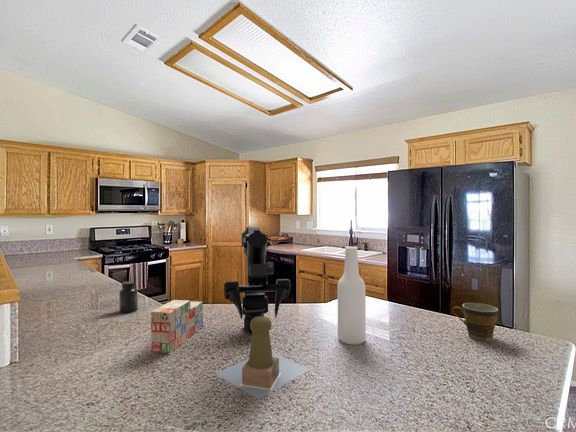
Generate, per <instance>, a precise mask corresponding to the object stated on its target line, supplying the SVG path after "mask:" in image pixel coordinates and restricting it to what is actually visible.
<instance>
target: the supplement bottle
mask: <svg viewBox="0 0 576 432" xmlns="http://www.w3.org/2000/svg"><path fill="white" fill-rule="evenodd" d="M135 283H136V282H135V281H125V282H124V281H123V282H122V283H121V289H120V291H119V293H118V296H119V300H118V301H119V305H118V306H119V313H121V314H130V313H134V312H136V311H138V305H139V303H138V301H139V299H138V293H139V292H138V289H137V288H136V284H135Z"/></svg>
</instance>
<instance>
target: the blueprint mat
mask: <svg viewBox="0 0 576 432" xmlns="http://www.w3.org/2000/svg"><path fill="white" fill-rule="evenodd" d="M272 357H276V358H279V375H278V376H277V378H276V380H275V382H274V383H273V385H272V387H271V388H270V389H268V388H262V387H255V386H248V385H242V367H243V366H244V365H245V364H246V362H247V361H248V360H249V357H248V358H246V359H244V360H242V361H239V362H237V363H235V364H233V365H230V366H229V367H226V368H224V369H222V370H219V371H217V372H215V373H214V374H215V375H217V376H218V377H220V378H222V379H223V380H225V381H227V382H229V384H232V385H233V386H235V387H236V388H238V389H240V390H242V391H243V392H245V393H247V394H249V395H250V396H252V397H254V398H256V400H257V399H258V400H260V399H262V398H264V397H265V396H267V395H269V394H270V393H272V392H274V391H275V390H277V389H279V388H280V387H282V386H283V385H285V384H287V383H288V382H291V381H292V380H293V379H295V378H297V377H298V376H300V375H301V374H303V373H305V372H306V371H308V370H310V368H309V367H308V366H305V365H303V364H300V363H299V362H298V363H297V362H295V361H293V360H291V359H289V358H286V357H285V356H281V355H279V354H277V353H275V352H274V353H273V352H272Z"/></svg>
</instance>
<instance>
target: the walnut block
mask: <svg viewBox="0 0 576 432" xmlns="http://www.w3.org/2000/svg"><path fill="white" fill-rule="evenodd" d="M248 363H249V360H248V361H247V362H246V364H245V365H244V366H243V367H242V385H248V386H255V387H262V388H268V389H270V388H271V387H272V385H273V383H274V382H275V380H276V378H277V376H278V375H279V358H276V357H273V364H272V365H271V366H270V367H267V368H263V369H256V368H252V367H251V366H249V364H248Z"/></svg>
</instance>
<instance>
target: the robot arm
mask: <svg viewBox="0 0 576 432" xmlns="http://www.w3.org/2000/svg"><path fill="white" fill-rule="evenodd" d="M245 227H246V228H245V230H244V231H243V232H242V233H241V248H243V253H244V254H245V256H246V273H247V274H246V276H247V278H246V279H247V281H246V282H247V285H245V284H244V285H239V280H231V281H230V280H229V281H228V280H227V281H225V282H224V285H223V286H224V287H223V294H224V299H225V300H228V301H229V302H230V303H233V305H234V306H235V307H236V310H237V313H238V315H239V317H240V319H241V320H243V327H242V328H241V330H242V331H244V332H247V333H249V334H252V331H251V329H250V322H251V320H252V319H253V318H255V317H258V316H265V314H267V313H268V312H269V304H270V303H269V301H270V300H269V299H268V296H267V295H265V293H267V292H268V293H269V292H270V293H271V292H272V293H273V292H275V299H274V316H275V318H276V317H278V313H279V307H280V305H281V302H282V300H285V299H286V298H288V297H289V296H290V294H291V289H292V282H291V280H290V279H288V278H281V279H280V278H279V279H278V278H277V279H276V283H275V284H268V282H269V275H274V272H275V268H274V267H275V266H274V262H273V261H267V262H266V256H267V249H268V248H269V246H271V241H270V240H269V239H268V237H267V236H266V234H264V233H263V232H262V231H261V229H260V226H258V225H247V226H245ZM241 293H243V294H244V296H242V299H241ZM243 315H244V318H243Z"/></svg>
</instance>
